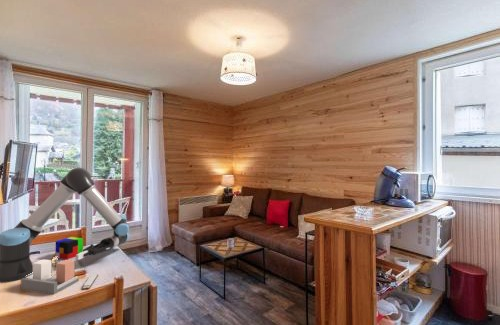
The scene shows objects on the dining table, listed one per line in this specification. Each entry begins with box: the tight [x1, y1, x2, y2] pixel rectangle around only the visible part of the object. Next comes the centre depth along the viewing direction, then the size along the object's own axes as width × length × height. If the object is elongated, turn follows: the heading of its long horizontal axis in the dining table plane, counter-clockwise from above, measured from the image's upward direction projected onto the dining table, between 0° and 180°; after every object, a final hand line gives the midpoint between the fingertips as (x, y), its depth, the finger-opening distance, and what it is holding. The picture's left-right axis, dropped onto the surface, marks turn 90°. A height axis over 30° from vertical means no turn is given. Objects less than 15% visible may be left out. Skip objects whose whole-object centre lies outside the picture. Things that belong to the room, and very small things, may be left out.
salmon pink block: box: [55, 259, 76, 283], centre depth 123 cm, size 6×5×9 cm
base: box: [20, 274, 80, 295], centre depth 122 cm, size 13×18×5 cm
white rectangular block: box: [31, 258, 53, 280], centre depth 123 cm, size 6×5×9 cm
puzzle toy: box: [54, 236, 84, 260], centre depth 159 cm, size 10×10×10 cm
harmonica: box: [81, 273, 99, 291], centre depth 125 cm, size 15×3×2 cm, turn 17°
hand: (77, 257), depth 136 cm, fingers closed
